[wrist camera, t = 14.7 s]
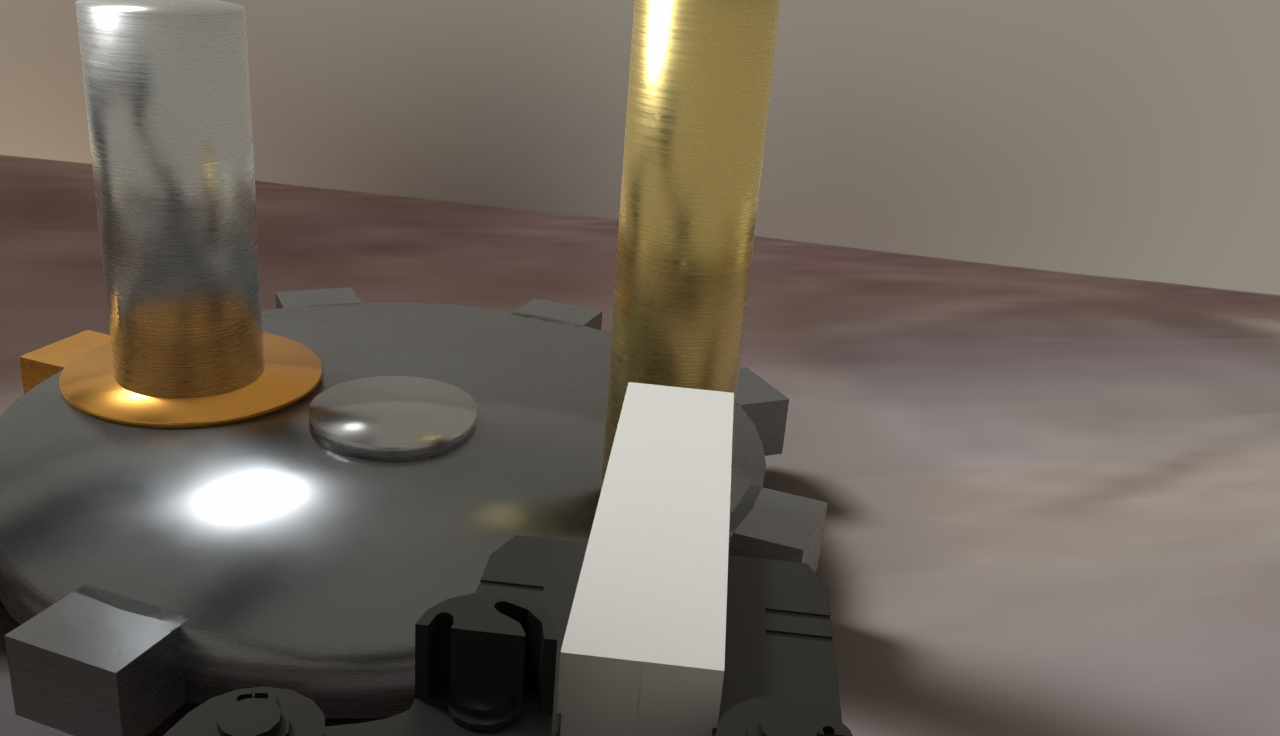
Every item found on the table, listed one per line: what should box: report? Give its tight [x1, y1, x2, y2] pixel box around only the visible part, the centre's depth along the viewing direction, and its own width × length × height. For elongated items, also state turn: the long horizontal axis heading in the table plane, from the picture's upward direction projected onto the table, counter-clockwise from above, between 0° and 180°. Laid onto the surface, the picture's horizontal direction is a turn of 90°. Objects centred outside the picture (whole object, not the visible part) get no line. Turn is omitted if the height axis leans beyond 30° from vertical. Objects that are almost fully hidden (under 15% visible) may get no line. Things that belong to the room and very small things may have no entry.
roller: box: [76, 0, 265, 398], centre depth 32 cm, size 4×4×10 cm
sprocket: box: [0, 0, 828, 736], centre depth 30 cm, size 23×23×14 cm
